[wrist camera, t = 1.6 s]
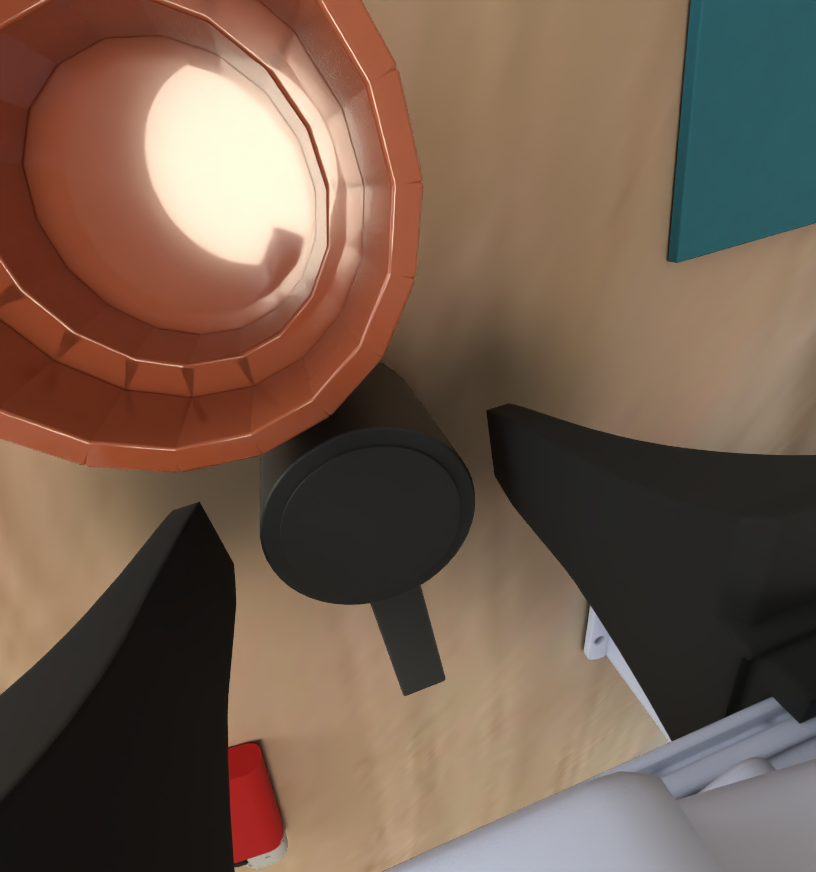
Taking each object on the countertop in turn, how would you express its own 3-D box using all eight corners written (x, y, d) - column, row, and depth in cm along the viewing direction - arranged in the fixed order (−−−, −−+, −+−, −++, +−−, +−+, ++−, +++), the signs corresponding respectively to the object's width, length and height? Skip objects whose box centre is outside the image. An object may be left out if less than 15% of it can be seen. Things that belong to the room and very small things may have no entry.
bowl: (383, 343, 13) (440, 418, 9) (70, 399, 12) (-40, 521, 7) (334, -45, 9) (394, -242, 5) (-147, -36, 8) (-647, -305, 4)
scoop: (235, 383, 13) (221, 473, 9) (403, 335, 13) (462, 398, 9) (334, 615, 18) (355, 740, 14) (452, 572, 18) (505, 680, 14)
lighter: (262, 770, 19) (289, 859, 23) (262, 739, 20) (288, 828, 24) (186, 792, 18) (228, 879, 22) (191, 758, 19) (229, 847, 23)
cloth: (667, 261, 14) (676, 263, 14) (705, -179, 10) (721, -192, 9) (827, 215, 15) (840, 216, 15) (932, -212, 11) (954, -225, 10)
